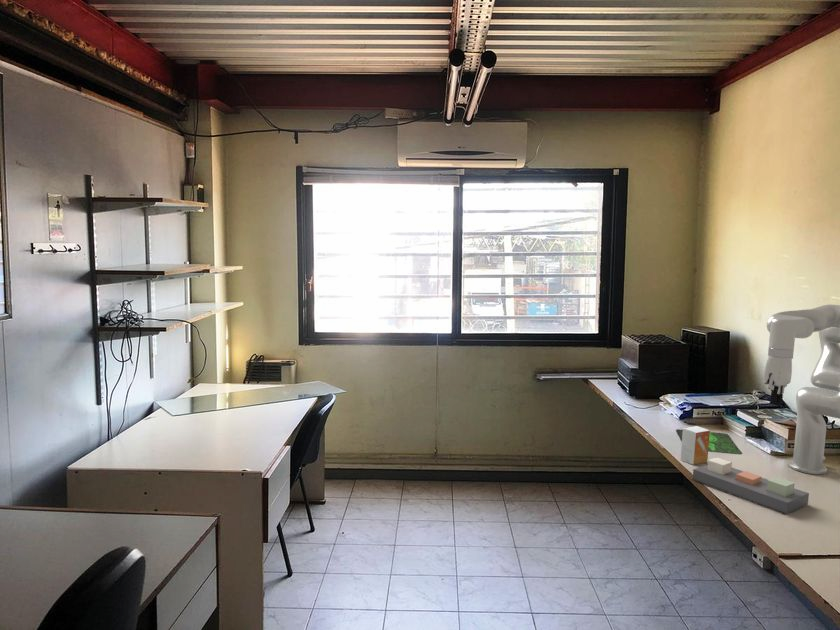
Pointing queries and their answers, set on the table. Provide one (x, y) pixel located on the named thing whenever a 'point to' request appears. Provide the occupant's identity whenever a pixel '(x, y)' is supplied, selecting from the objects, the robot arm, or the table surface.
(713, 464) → the cream key
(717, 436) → the mouse mat
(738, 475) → the terracotta key
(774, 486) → the sage key
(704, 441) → the small box
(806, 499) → the key console
